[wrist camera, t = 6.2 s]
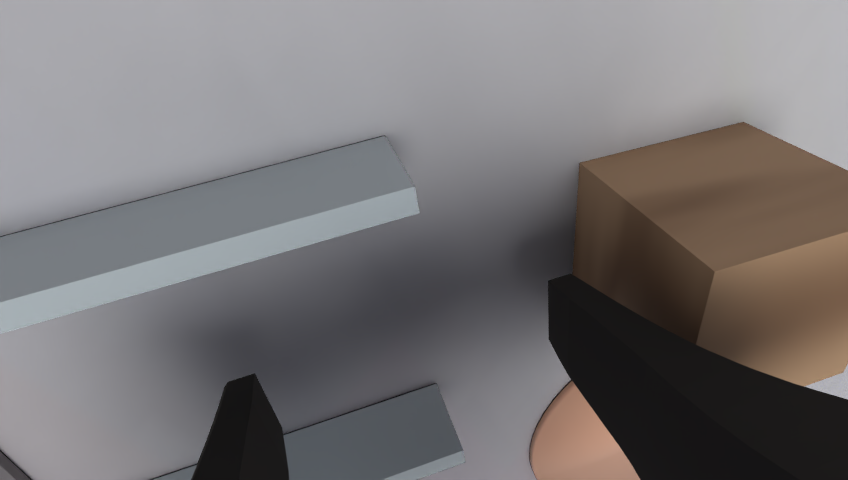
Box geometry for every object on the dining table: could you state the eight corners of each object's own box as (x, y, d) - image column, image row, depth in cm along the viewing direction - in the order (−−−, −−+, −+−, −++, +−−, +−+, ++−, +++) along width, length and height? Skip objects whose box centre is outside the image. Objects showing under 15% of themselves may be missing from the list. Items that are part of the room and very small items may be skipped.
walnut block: (706, 262, 18) (843, 372, 14) (569, 303, 17) (672, 433, 13) (740, 120, 15) (927, 207, 11) (578, 161, 14) (714, 271, 10)
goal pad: (728, 445, 25) (732, 450, 25) (533, 521, 24) (536, 527, 24) (778, 286, 19) (785, 291, 19) (524, 374, 18) (528, 380, 18)
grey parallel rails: (439, 395, 17) (465, 462, 15) (119, 504, 16) (103, 594, 14) (385, 135, 12) (414, 186, 10) (-105, 264, 10) (-185, 354, 8)
